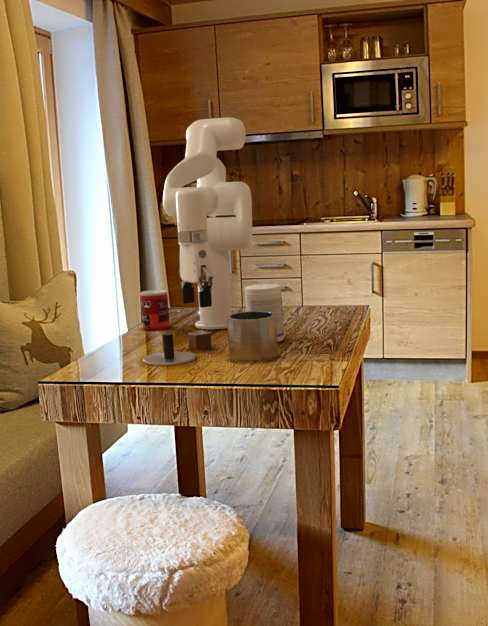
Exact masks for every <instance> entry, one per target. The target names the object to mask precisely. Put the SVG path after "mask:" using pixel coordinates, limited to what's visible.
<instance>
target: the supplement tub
mask: <svg viewBox="0 0 488 626" xmlns="http://www.w3.org/2000/svg"><path fill="white" fill-rule="evenodd" d="M244 290H245V292H244V300H245V312H246V311H268V312H273V313H275V314H276V326H277V343H280V342H282V341H283V340H284V339H285V330H284V329H285V328H284V327H285V326H284V315H283V314H284V312H283V296H282V289H281V284H276V283H263V284H253V285H248V286H245V288H244Z"/></svg>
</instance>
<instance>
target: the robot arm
mask: <svg viewBox="0 0 488 626" xmlns="http://www.w3.org/2000/svg"><path fill="white" fill-rule="evenodd" d="M244 125H245V124H244V123H243V122H242V120H240V119H239V118H235V117H230V116H229V117H213V118H201V119H197V120H195V121H193V122H192V123H191V124H190V125H189V126H188V127H187V129H186V131H185V139H186V145H185V147H186V148H185V154H184V158H183V160H181V161H180V162H178V163H177V164H176V165H175V166H174V167H173V168H172V170H171V171H169V173H168V175H167V176H166V178H165V180H164V181H165V182H164V188H163V193H162V194H163V195H162V207H163V210H164V213H165V214H166V215H167V216H168V217H171V218H176V224H177V240H178V241H177V242H178V245H179V269H178V275H179V281H180V287H181V296H182V297H181V298H182V303H183V304H192V303H195V302H196V301H195V299H196V298H195V288H194V286H193V285H194V284H196V285H197V294H198V312H197V315H198V316H199V320H197V321H195V323H194V327H195V328H196V329H199V330H207V331H208V330H210V331H211V330H224V329H228V324H227V316H229V315H230V314H233V306H232V287H231V271H230V270H231V269H230V264H229V262H228V260H227V259H226V258H225V257H224V256H223V255H222V253H220V252H224V251H225V252H227V251H242V250H247V249H249V248H250V247H251V246H252V243H253V201H252V200H253V199H252V198H253V197H252V192H251V191H252V190H251V188H250V186H249V185H248V183H245V182H244V181H227V169H226V166H225V164H224V163H223V162H222V160H220V158H219V157H218V156H217V155H218V154H217V153H218V151H236V150H241V149H242V148H243V147H244V145H245V143H246V135H247V134H246V127H245V126H244ZM195 181H196V186H189V187H187V186H186V185H188V184H191V183H193V182H195ZM185 186H186V187H185ZM209 216H210V217H209ZM219 216H224V217H219ZM225 216H226V217H225ZM227 216H228V217H227Z"/></svg>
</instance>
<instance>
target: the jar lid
mask: <svg viewBox="0 0 488 626" xmlns="http://www.w3.org/2000/svg"><path fill="white" fill-rule="evenodd" d="M161 338H162V339H161V340H162V351H161V352H156V353H152V354H149V355H146V356H144V357H143V359H142V362H143V364H144V365H148V366H154V367H171V366H180V365H185V364H189V363H191V362H193V361H195V360H196V354H195V353H193V352H189V351H180V350H178V351H177V350H175V346H174V334H173V333H172V332H165V333H162V335H161Z"/></svg>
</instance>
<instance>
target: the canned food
mask: <svg viewBox="0 0 488 626" xmlns="http://www.w3.org/2000/svg"><path fill="white" fill-rule="evenodd" d="M139 296H140V308H141V321H142V328H143V330H145V331H153V332H154V331H162V330H163V331H164V330H167V329H169V327H170V311H169V295H168V290H166V289H149V290H148V289H147V290H143V291H140V295H139Z"/></svg>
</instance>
